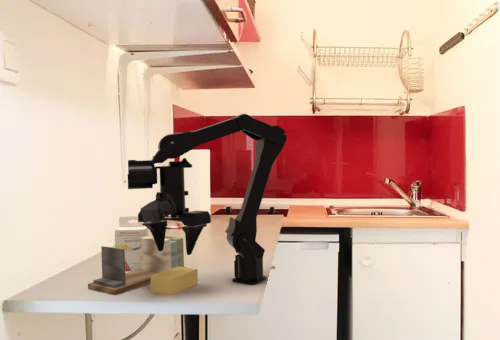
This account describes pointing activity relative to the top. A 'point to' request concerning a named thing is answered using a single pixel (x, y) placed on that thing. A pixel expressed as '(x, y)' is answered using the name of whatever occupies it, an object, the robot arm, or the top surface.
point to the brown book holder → (151, 264)
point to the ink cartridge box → (130, 241)
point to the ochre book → (174, 280)
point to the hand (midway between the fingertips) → (174, 252)
